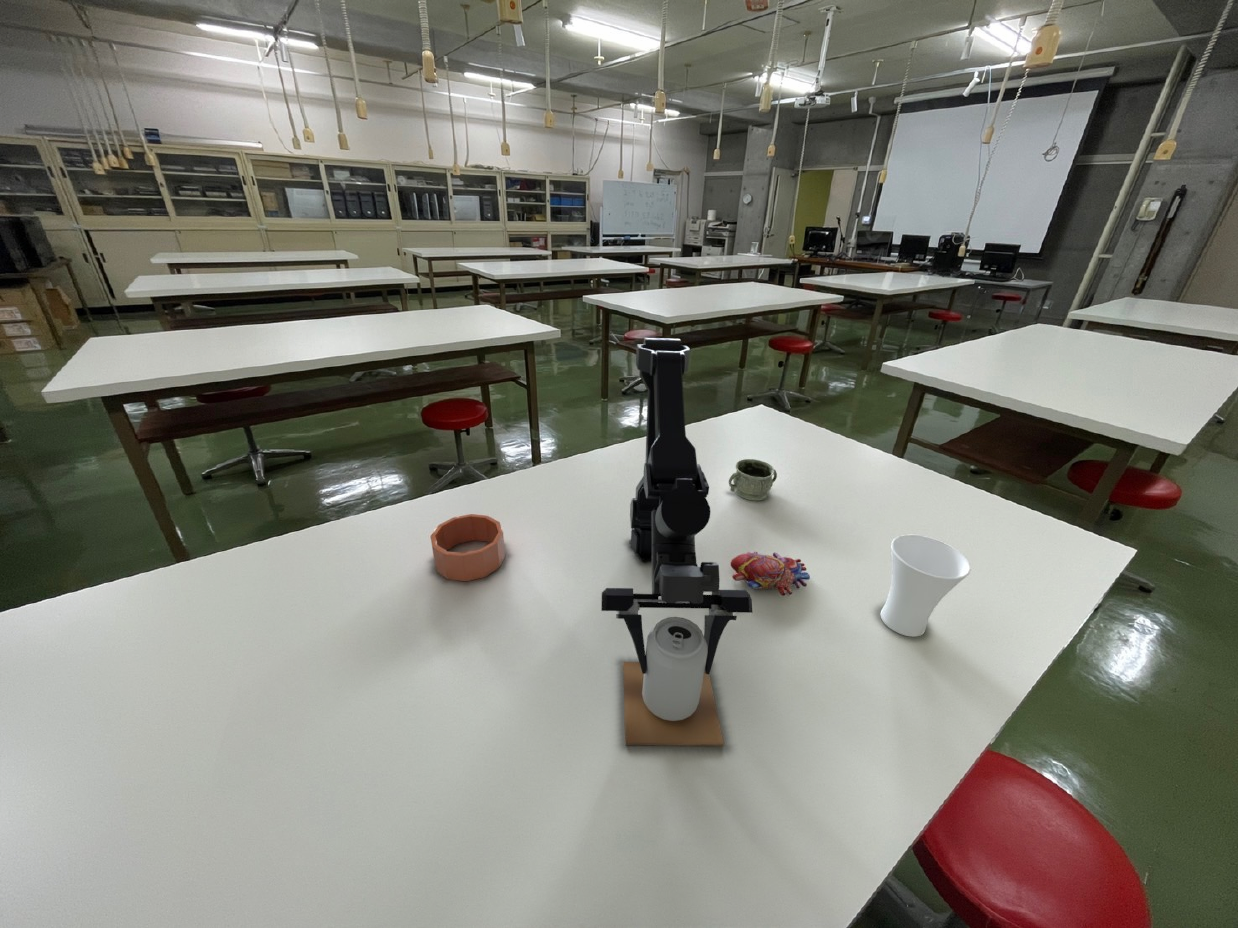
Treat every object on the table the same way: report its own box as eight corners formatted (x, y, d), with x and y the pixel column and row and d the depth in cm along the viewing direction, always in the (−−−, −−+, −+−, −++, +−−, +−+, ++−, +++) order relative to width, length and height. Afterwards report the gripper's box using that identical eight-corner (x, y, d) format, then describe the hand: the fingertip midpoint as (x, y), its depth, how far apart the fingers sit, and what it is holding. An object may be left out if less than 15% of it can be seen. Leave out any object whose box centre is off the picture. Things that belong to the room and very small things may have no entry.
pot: (497, 532, 97) (495, 509, 95) (510, 571, 87) (508, 546, 85) (432, 546, 93) (428, 521, 90) (438, 587, 83) (434, 562, 81)
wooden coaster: (623, 663, 71) (623, 661, 71) (706, 664, 71) (706, 662, 71) (625, 745, 61) (625, 743, 60) (723, 745, 61) (723, 743, 61)
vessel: (764, 479, 120) (768, 456, 117) (784, 499, 112) (789, 474, 109) (718, 484, 117) (722, 461, 114) (735, 504, 109) (739, 480, 106)
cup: (932, 608, 83) (961, 542, 77) (946, 655, 74) (980, 586, 68) (864, 592, 86) (887, 528, 80) (870, 636, 77) (896, 568, 71)
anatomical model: (720, 550, 88) (782, 540, 94) (715, 567, 89) (777, 556, 96) (762, 591, 79) (828, 576, 85) (756, 609, 80) (821, 593, 87)
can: (702, 683, 68) (714, 620, 62) (692, 733, 62) (704, 668, 56) (649, 668, 70) (655, 605, 64) (634, 714, 64) (640, 649, 58)
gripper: (603, 536, 58) (600, 682, 53) (762, 539, 58) (772, 683, 54) (602, 548, 69) (600, 670, 64) (736, 550, 69) (743, 671, 65)
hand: (675, 673), depth 61 cm, fingers closed on can, 7 cm apart
